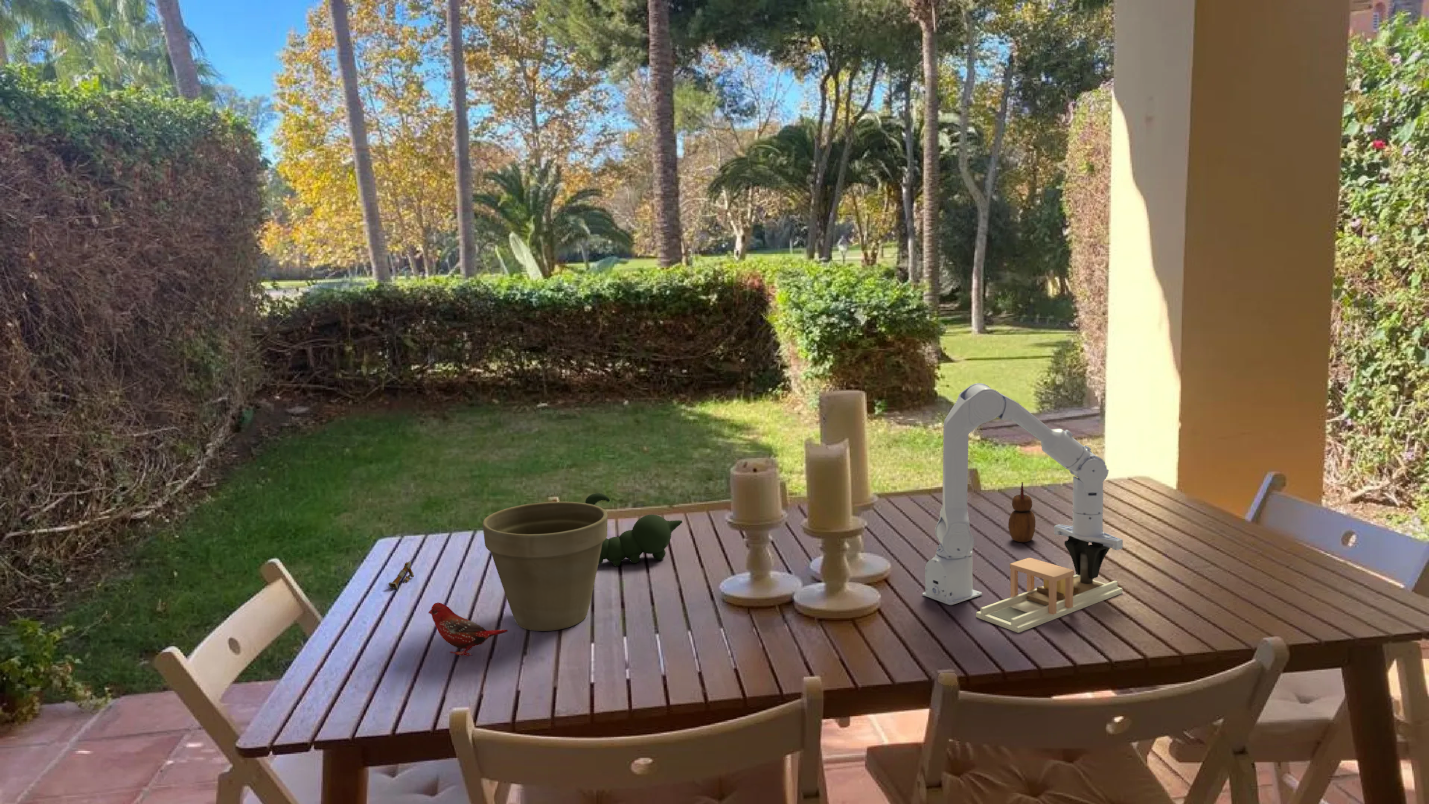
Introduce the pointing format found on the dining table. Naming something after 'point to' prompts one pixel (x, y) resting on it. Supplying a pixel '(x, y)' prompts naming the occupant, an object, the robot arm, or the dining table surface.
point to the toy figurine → (636, 537)
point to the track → (1028, 614)
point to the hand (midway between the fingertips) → (1086, 575)
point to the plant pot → (547, 560)
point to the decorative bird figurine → (459, 629)
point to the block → (1058, 585)
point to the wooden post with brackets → (400, 576)
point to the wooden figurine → (1022, 518)
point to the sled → (1079, 586)
